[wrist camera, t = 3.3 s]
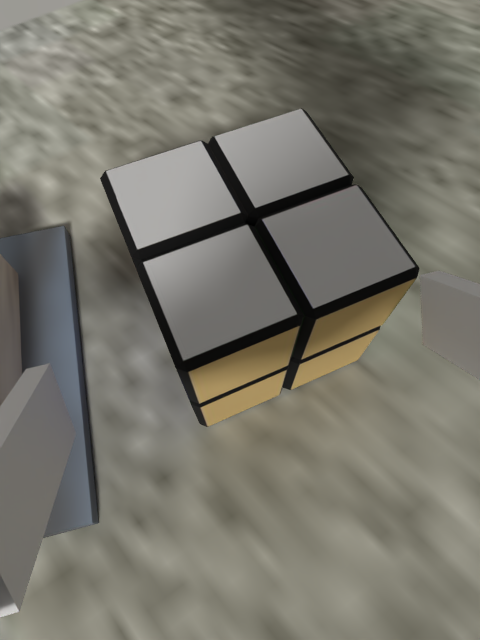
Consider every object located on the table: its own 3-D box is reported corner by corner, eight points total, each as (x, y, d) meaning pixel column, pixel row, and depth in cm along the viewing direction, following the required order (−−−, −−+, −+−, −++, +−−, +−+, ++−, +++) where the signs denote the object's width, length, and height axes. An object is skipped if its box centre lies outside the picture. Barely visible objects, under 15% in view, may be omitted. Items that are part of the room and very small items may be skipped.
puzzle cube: (143, 284, 28) (95, 167, 18) (284, 231, 29) (304, 101, 20) (202, 431, 24) (178, 373, 15) (361, 360, 25) (428, 269, 16)
